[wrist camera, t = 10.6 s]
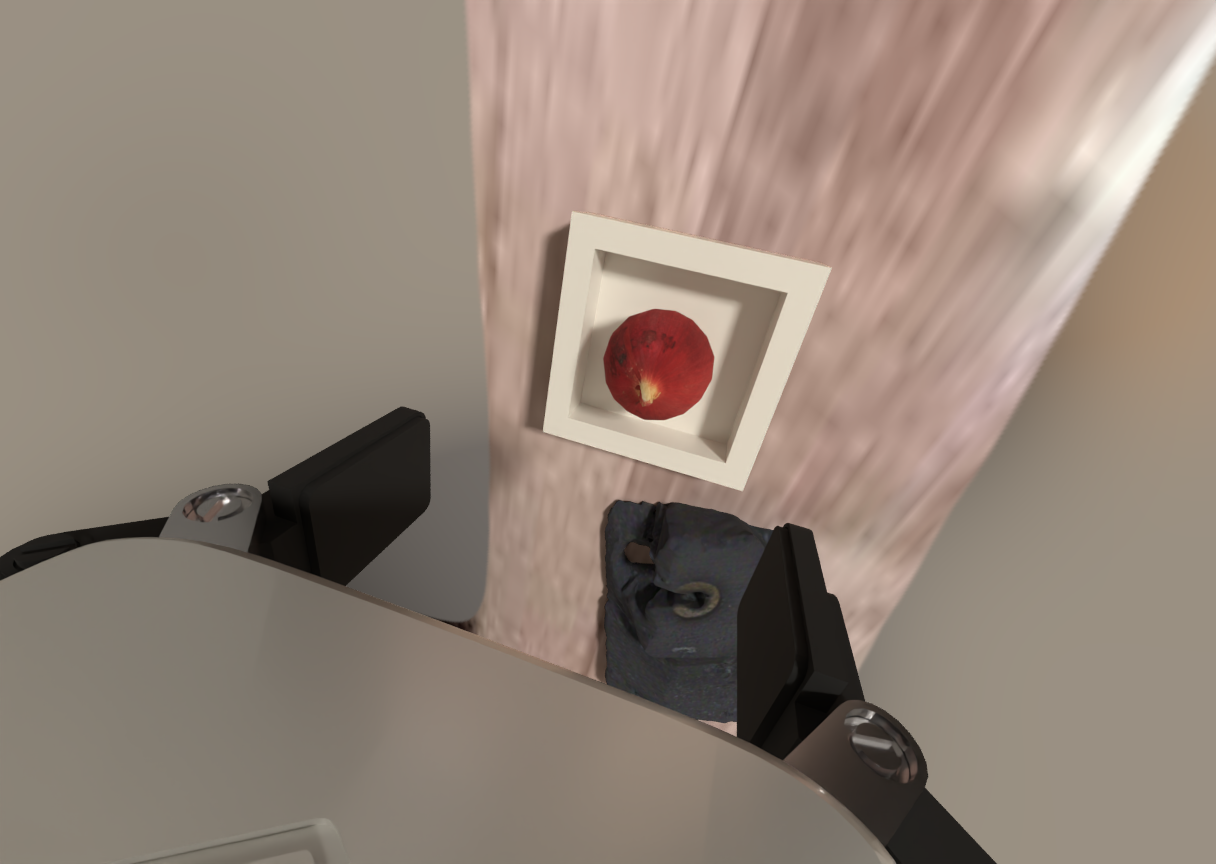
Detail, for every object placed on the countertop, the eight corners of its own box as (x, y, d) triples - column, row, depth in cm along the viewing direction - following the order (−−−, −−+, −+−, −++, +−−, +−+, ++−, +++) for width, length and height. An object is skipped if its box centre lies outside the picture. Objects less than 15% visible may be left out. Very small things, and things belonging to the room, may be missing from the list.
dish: (589, 212, 26) (572, 211, 23) (820, 262, 24) (831, 267, 21) (559, 413, 32) (542, 431, 29) (742, 465, 30) (742, 491, 27)
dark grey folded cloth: (588, 669, 43) (573, 717, 39) (615, 479, 33) (597, 516, 29) (749, 721, 41) (750, 778, 36) (829, 530, 31) (844, 579, 27)
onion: (601, 344, 28) (558, 386, 21) (668, 276, 25) (643, 298, 18) (665, 410, 29) (643, 471, 22) (736, 350, 26) (737, 398, 19)
